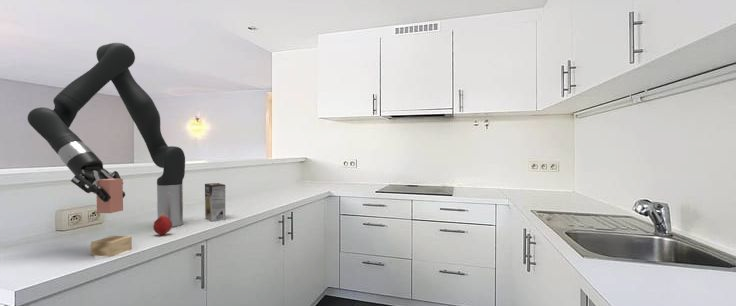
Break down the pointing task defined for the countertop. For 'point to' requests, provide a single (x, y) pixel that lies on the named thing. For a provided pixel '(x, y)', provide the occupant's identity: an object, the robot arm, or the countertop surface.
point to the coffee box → (215, 201)
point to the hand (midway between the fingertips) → (115, 198)
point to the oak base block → (111, 245)
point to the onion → (162, 225)
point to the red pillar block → (115, 191)
